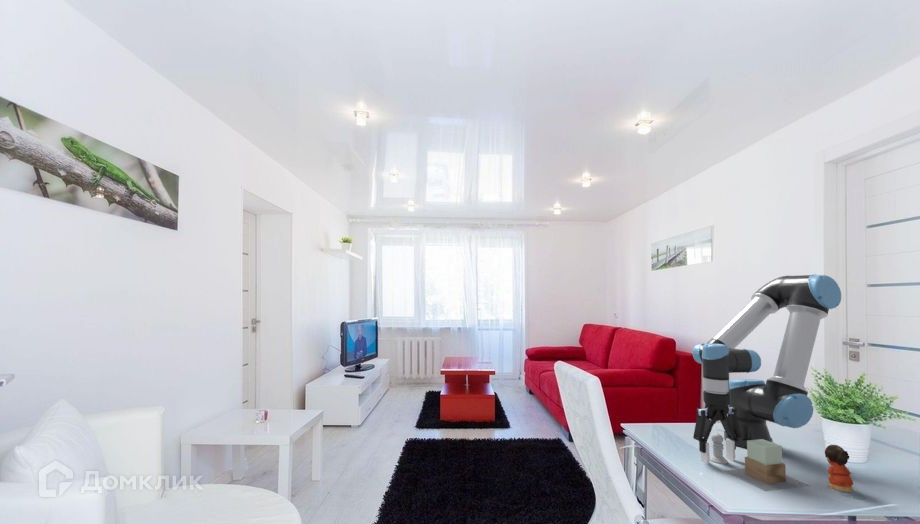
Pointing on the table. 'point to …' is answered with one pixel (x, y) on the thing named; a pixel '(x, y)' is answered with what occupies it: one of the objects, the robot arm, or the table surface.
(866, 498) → the table surface
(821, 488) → the table surface
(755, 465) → the block bottom
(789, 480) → the mat
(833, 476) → the figurine
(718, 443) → the chess piece
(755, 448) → the block top
